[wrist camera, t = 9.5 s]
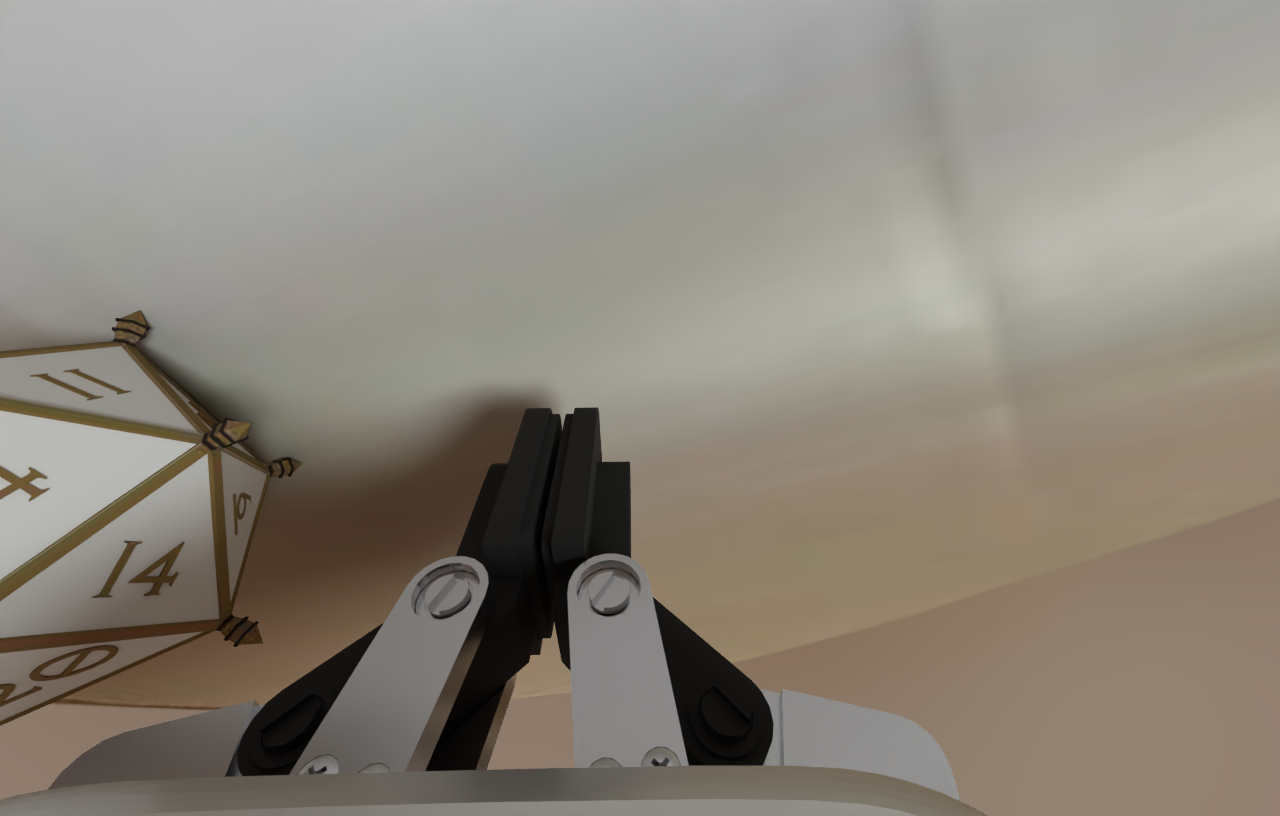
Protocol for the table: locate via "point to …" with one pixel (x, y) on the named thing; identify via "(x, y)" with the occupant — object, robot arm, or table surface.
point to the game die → (114, 517)
